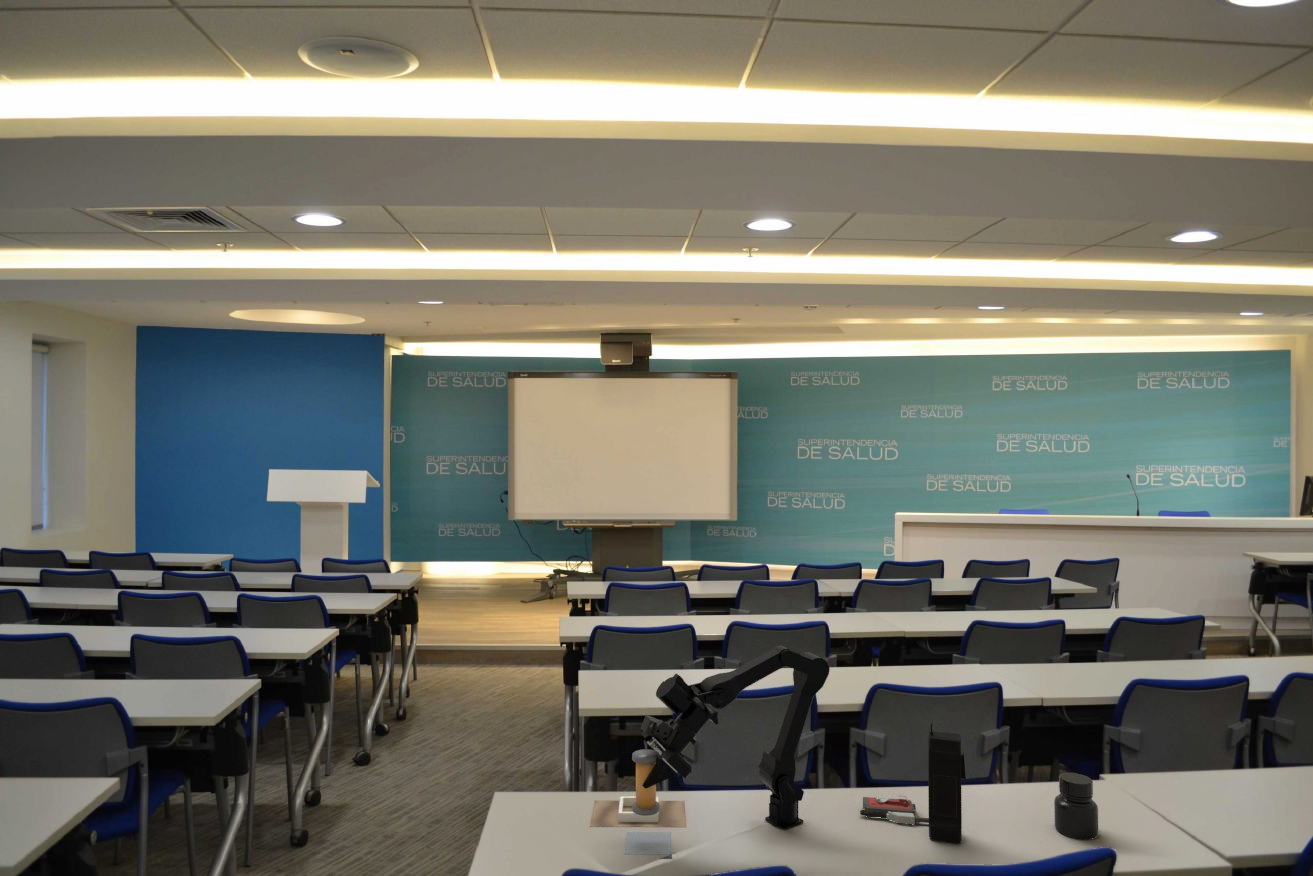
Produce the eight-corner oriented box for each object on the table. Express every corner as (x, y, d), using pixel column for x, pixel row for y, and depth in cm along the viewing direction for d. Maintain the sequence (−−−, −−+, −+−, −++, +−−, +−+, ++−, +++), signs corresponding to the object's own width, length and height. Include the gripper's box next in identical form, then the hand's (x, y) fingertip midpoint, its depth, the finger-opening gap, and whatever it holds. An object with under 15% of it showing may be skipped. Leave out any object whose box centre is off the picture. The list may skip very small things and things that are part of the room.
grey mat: (671, 836, 178) (671, 832, 178) (671, 859, 168) (671, 854, 168) (626, 836, 178) (626, 832, 178) (624, 859, 168) (624, 854, 168)
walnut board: (684, 805, 195) (684, 800, 195) (686, 831, 181) (686, 827, 181) (594, 804, 195) (594, 800, 195) (589, 831, 181) (589, 826, 181)
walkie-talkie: (860, 823, 186) (950, 830, 183) (860, 804, 186) (950, 810, 183) (857, 807, 195) (943, 813, 192) (857, 789, 195) (943, 794, 192)
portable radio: (965, 833, 180) (964, 722, 181) (966, 845, 175) (965, 730, 175) (928, 828, 183) (928, 718, 184) (928, 840, 177) (928, 726, 178)
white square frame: (658, 805, 193) (658, 796, 193) (658, 822, 183) (658, 813, 183) (620, 804, 193) (620, 796, 193) (618, 822, 183) (618, 813, 183)
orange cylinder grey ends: (641, 801, 179) (641, 747, 180) (664, 807, 176) (664, 752, 177) (627, 811, 174) (627, 756, 175) (650, 818, 171) (650, 761, 171)
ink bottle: (1099, 827, 184) (1098, 775, 184) (1102, 844, 176) (1101, 789, 176) (1051, 819, 188) (1051, 768, 188) (1053, 835, 180) (1052, 781, 180)
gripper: (649, 691, 186) (603, 745, 182) (677, 715, 168) (627, 775, 164) (681, 722, 188) (636, 775, 184) (712, 749, 171) (663, 808, 167)
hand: (640, 782), depth 175 cm, fingers closed on orange cylinder grey ends, 5 cm apart
